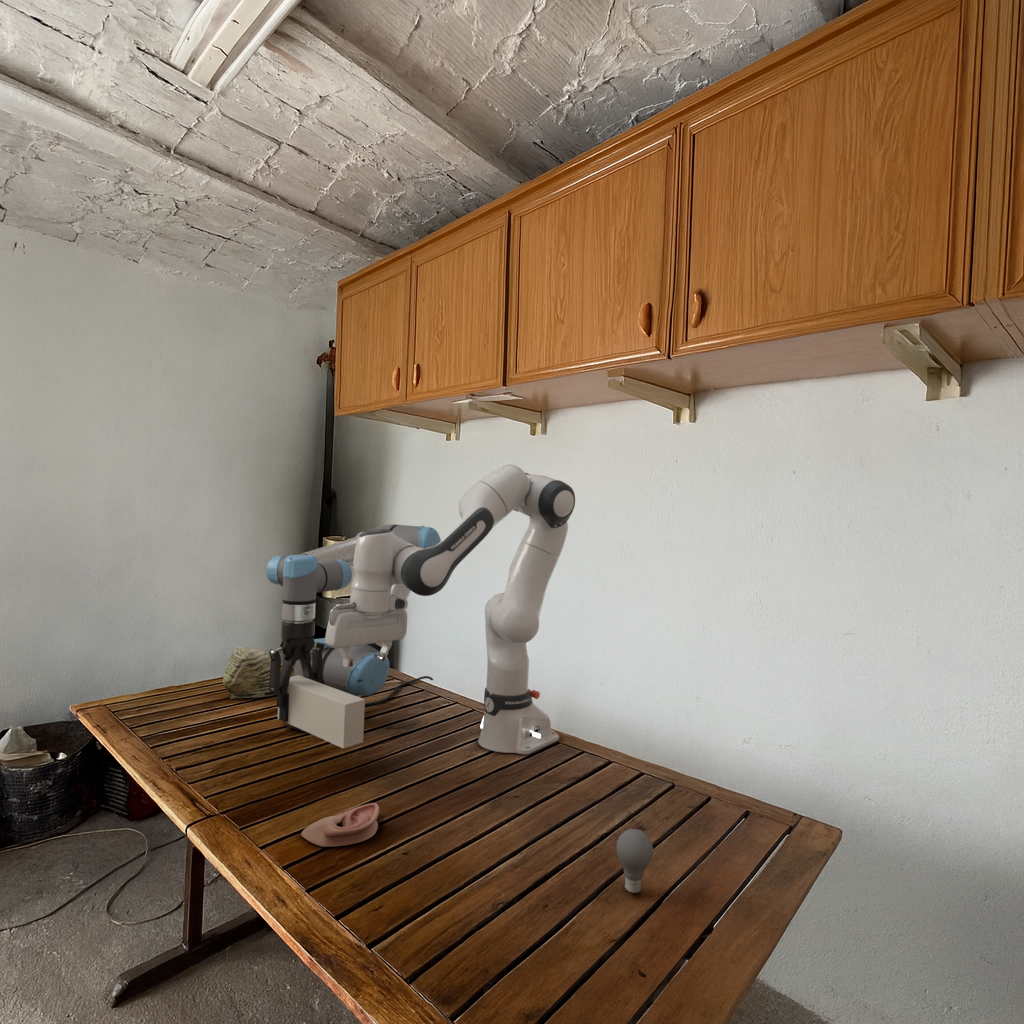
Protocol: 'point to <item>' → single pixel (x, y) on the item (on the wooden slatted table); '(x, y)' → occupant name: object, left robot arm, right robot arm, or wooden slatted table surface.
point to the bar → (325, 712)
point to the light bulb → (634, 857)
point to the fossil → (248, 673)
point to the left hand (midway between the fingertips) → (294, 717)
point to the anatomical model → (344, 827)
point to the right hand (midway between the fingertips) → (365, 663)
